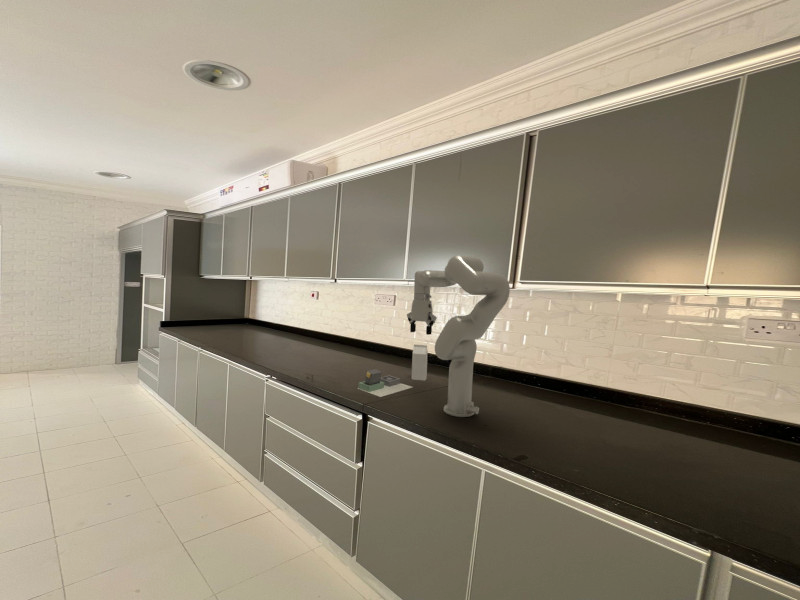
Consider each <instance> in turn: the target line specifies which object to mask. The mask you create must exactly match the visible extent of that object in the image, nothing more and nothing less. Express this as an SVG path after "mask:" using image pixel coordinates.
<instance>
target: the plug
mask: <svg viewBox="0 0 800 600" xmlns="http://www.w3.org/2000/svg"><path fill="white" fill-rule="evenodd" d="M365 372H366V373H365V380H364V381H365V384H367V385H373V384H377V383H380V379H381V377H382V371H380V370H378V368H374V369H371V370H370V369H369V370H366V371H365Z"/></svg>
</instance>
